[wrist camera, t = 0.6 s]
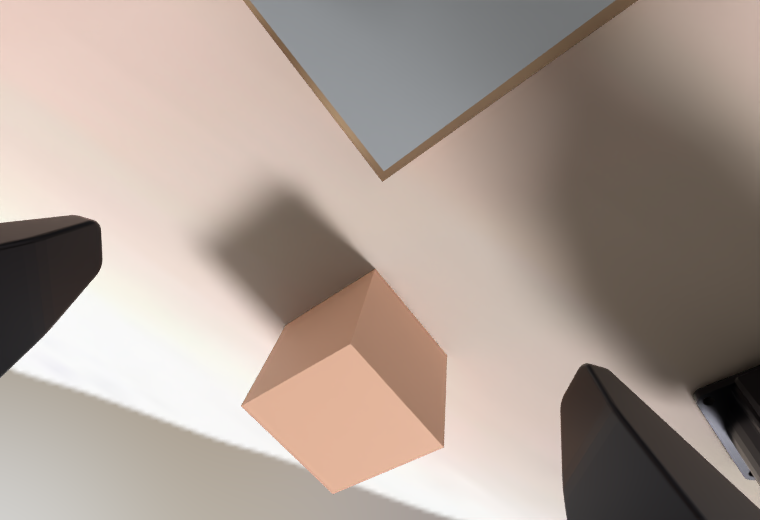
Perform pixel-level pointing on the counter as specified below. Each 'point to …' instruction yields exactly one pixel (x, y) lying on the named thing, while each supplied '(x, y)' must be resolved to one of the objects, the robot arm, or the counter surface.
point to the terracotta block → (353, 386)
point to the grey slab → (416, 57)
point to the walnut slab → (587, 28)
